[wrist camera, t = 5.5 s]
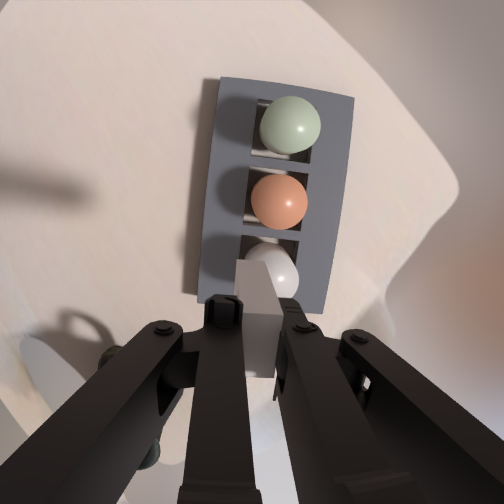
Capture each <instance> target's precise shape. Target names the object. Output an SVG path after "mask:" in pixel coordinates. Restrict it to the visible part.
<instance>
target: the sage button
mask: <svg viewBox="0 0 504 504" xmlns="http://www.w3.org/2000/svg"><path fill="white" fill-rule="evenodd" d="M320 129H321V122H320V117H319V115H318V113H317V111H316V109H315V108H314V107H313V106H312V105H311V104H310V103H309V102H308V101H306V100H304V99H302V98H300V97H296V96H285V97H281V98H279V99H277V100H275V101H273V102H272V103H271V104H270V105H269V106H268V108H267V109H266V111H265V113H264V115H263V118H262V120H261V123H260V127H259V134H260V138H261V140H262V142H263V144H264V145H265V146H266V147H267V148H268V149H269V150H270V151H272V152H274V153H276V154H280V155H290V154H293V153H297V152H300V151H303V150H305V149H307V148H309V147H310V146H311V145H313V144H314V142H315V141H316V140H317V138H318V136H319V133H320Z"/></svg>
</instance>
